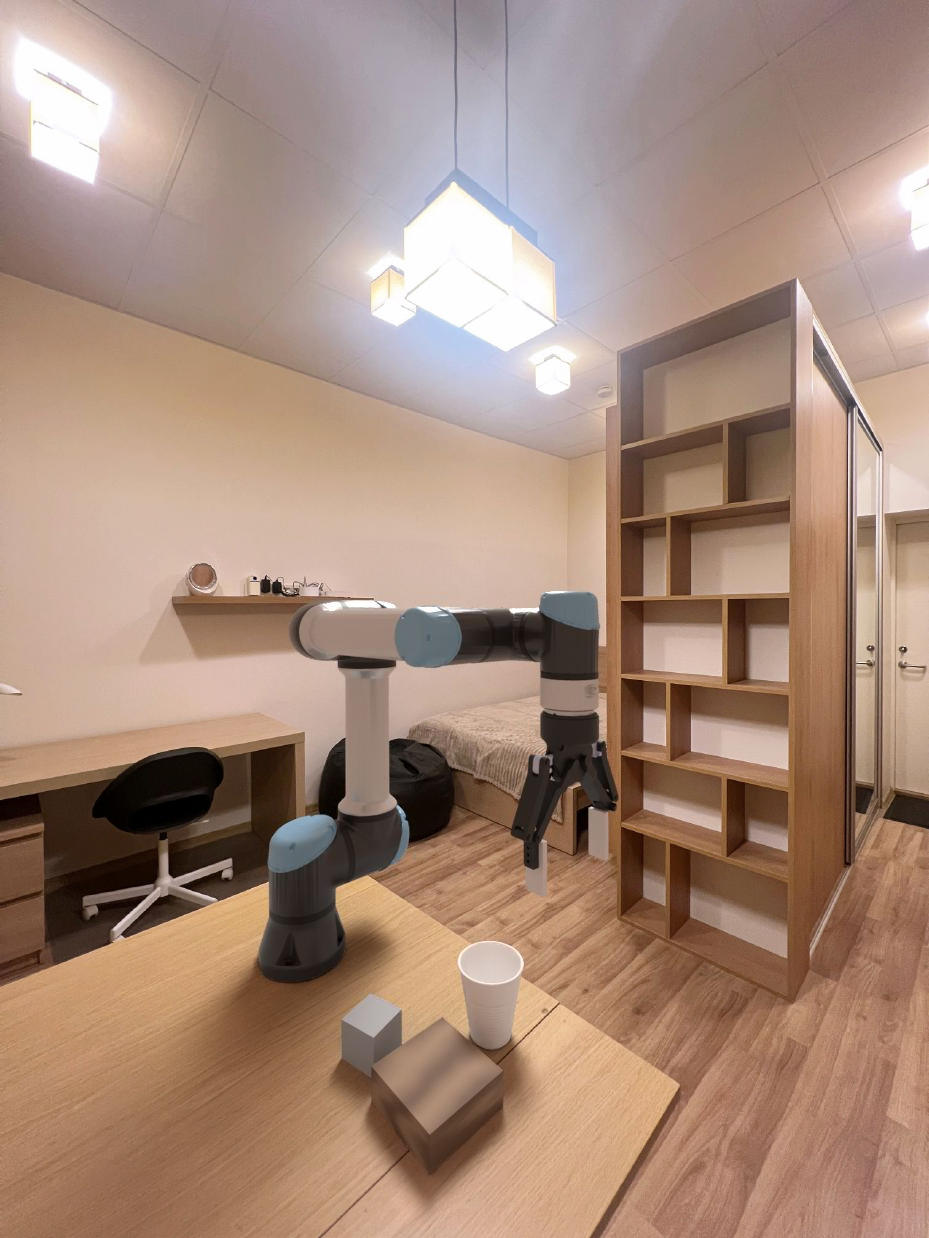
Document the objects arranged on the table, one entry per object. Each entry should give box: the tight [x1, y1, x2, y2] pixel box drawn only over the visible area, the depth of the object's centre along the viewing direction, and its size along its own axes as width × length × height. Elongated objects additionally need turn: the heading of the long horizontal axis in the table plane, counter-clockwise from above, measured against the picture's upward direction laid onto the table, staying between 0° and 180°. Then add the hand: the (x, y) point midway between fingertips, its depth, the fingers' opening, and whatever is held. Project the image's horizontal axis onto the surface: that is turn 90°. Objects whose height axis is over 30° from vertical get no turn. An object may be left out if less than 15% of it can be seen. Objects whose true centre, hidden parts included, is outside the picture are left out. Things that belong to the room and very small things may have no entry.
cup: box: [456, 940, 525, 1050], centre depth 77 cm, size 10×10×11 cm
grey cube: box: [340, 992, 403, 1079], centre depth 73 cm, size 6×6×6 cm
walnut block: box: [370, 1016, 504, 1177], centre depth 66 cm, size 12×12×5 cm
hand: (569, 873), depth 67 cm, fingers open, 13 cm apart
